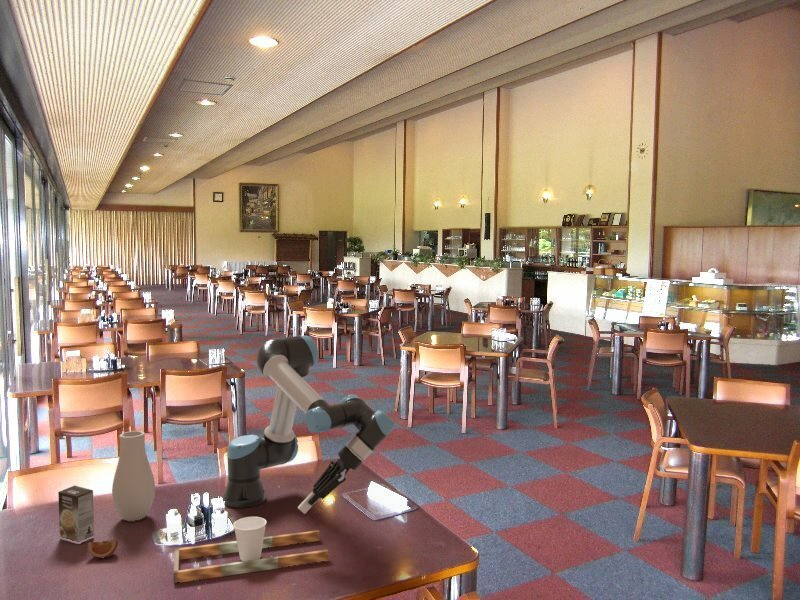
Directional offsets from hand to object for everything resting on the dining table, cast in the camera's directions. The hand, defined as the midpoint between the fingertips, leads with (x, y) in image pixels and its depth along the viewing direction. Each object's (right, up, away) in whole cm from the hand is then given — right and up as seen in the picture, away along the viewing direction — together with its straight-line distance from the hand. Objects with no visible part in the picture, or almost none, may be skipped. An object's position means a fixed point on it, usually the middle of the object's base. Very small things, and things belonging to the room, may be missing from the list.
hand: (301, 510), depth 199 cm
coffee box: (-74, -13, +11) cm, 76 cm away
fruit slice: (-60, -14, -1) cm, 62 cm away
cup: (-15, -14, -2) cm, 21 cm away
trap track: (-15, -14, -3) cm, 20 cm away
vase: (-62, -12, +27) cm, 68 cm away
